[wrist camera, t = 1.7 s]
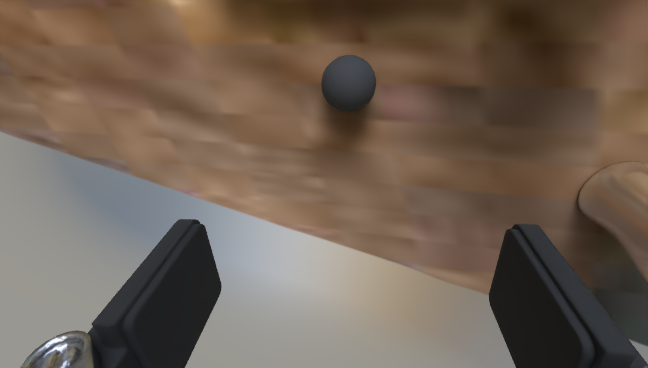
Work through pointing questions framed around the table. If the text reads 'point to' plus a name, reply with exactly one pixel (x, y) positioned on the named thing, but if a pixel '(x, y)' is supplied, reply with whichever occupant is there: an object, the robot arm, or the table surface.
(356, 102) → the ball
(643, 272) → the beer glass
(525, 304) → the robot arm
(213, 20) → the table surface
